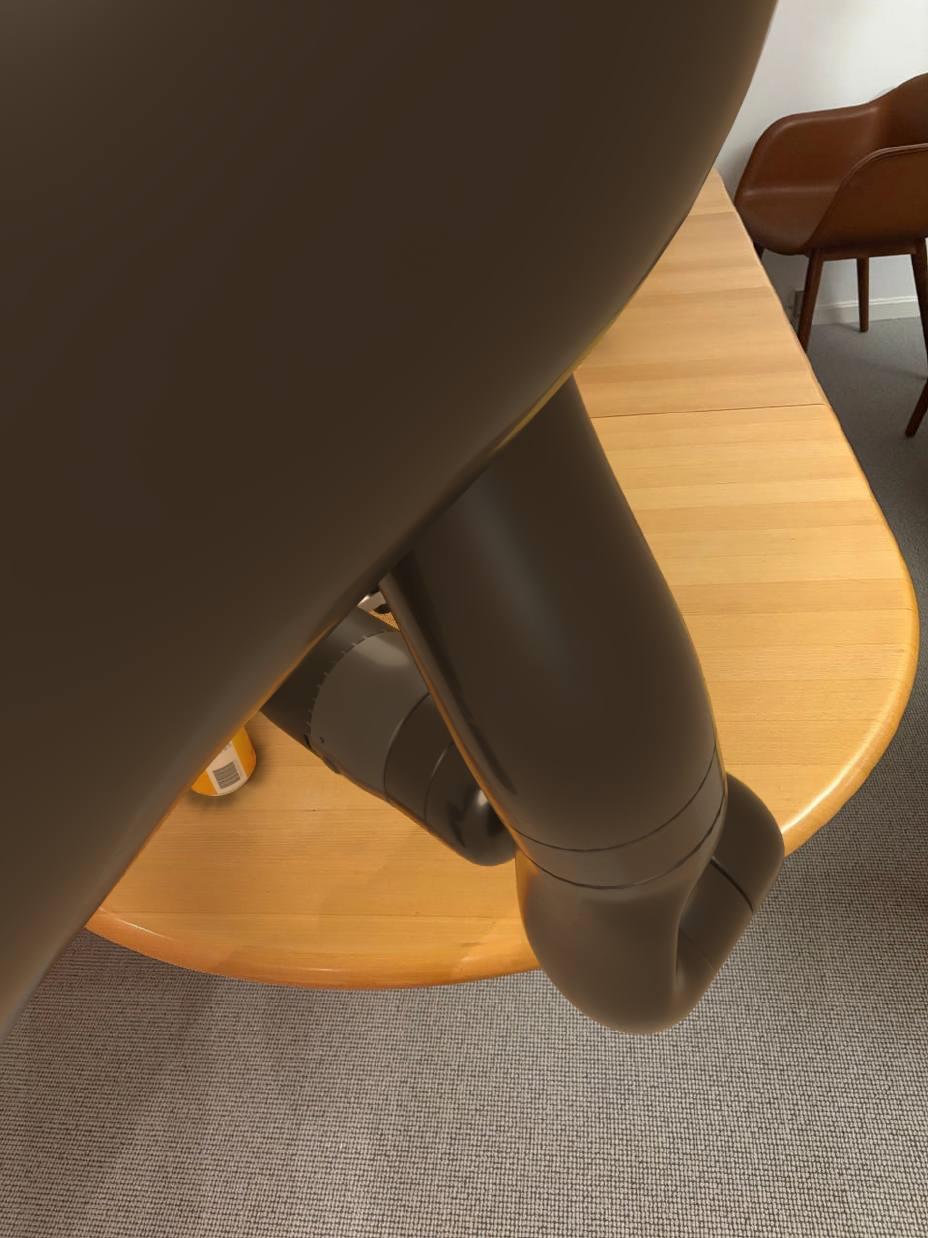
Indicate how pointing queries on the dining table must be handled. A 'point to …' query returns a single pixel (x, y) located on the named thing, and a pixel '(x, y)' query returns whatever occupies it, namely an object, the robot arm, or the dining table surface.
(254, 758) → the beer can
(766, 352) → the dining table surface
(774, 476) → the dining table surface
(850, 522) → the dining table surface
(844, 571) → the dining table surface
